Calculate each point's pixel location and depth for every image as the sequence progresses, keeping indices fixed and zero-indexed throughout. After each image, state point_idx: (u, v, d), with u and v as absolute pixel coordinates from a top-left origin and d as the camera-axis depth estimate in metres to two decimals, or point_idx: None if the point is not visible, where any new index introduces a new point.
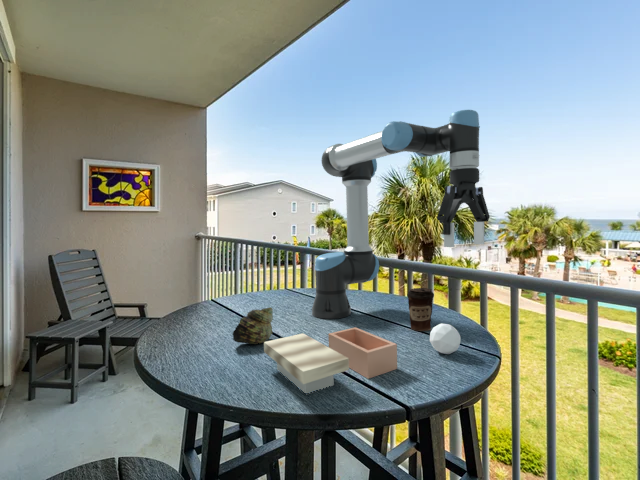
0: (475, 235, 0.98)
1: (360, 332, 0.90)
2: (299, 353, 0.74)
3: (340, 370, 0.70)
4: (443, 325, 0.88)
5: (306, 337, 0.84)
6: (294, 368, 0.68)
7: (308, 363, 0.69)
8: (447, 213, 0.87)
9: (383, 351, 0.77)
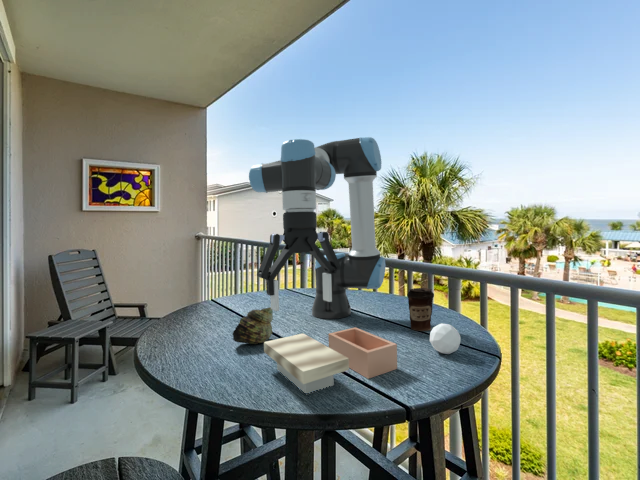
0: (323, 289, 0.80)
1: (360, 332, 0.90)
2: (299, 353, 0.74)
3: (340, 370, 0.70)
4: (443, 325, 0.88)
5: (306, 337, 0.84)
6: (294, 368, 0.68)
7: (308, 363, 0.69)
8: (266, 270, 0.70)
9: (383, 351, 0.77)
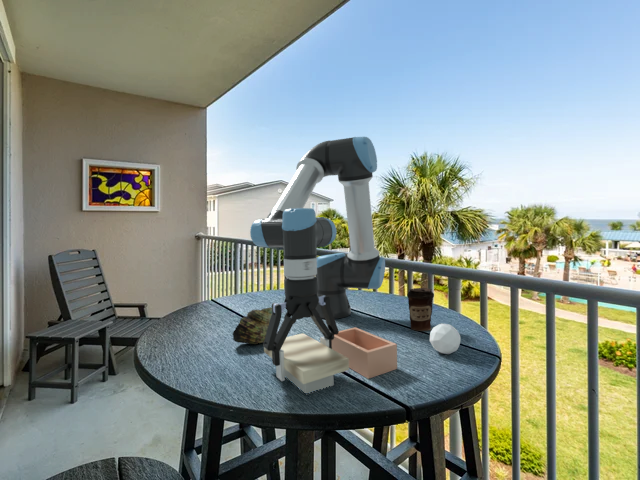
0: None
1: (360, 332, 0.90)
2: (299, 353, 0.74)
3: (340, 370, 0.70)
4: (443, 325, 0.88)
5: (306, 337, 0.84)
6: (294, 368, 0.68)
7: (308, 363, 0.69)
8: (271, 342, 0.71)
9: (383, 351, 0.77)
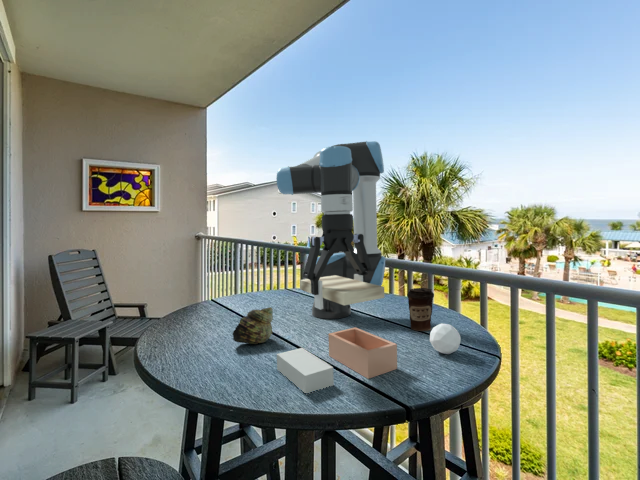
0: None
1: (360, 332, 0.90)
2: (335, 284, 0.79)
3: (377, 296, 0.74)
4: (443, 325, 0.88)
5: (339, 277, 0.89)
6: (334, 293, 0.72)
7: (347, 289, 0.73)
8: (311, 271, 0.75)
9: (383, 351, 0.77)
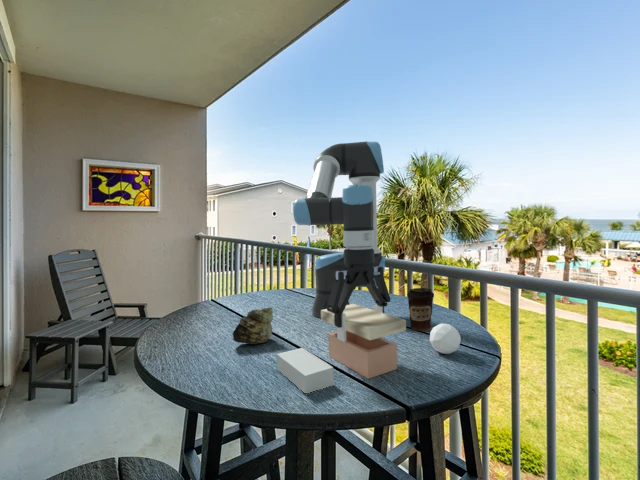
0: None
1: None
2: (358, 317, 0.81)
3: (399, 330, 0.77)
4: (443, 325, 0.88)
5: (358, 306, 0.92)
6: (359, 327, 0.75)
7: (371, 323, 0.76)
8: (335, 305, 0.78)
9: (383, 351, 0.77)
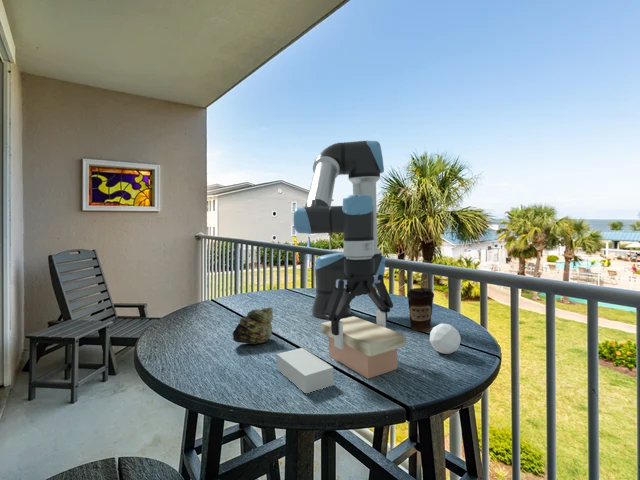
0: None
1: None
2: (358, 331, 0.82)
3: (399, 345, 0.77)
4: (443, 325, 0.88)
5: (358, 319, 0.92)
6: (359, 343, 0.75)
7: (371, 339, 0.76)
8: (333, 313, 0.78)
9: None
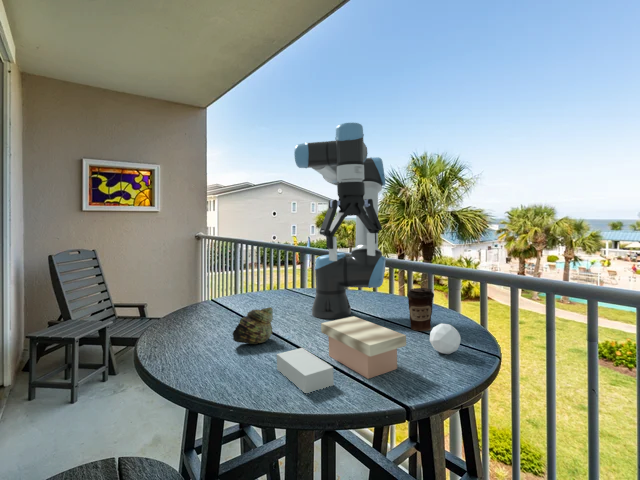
0: (368, 246, 0.98)
1: None
2: (358, 331, 0.82)
3: (399, 345, 0.77)
4: (443, 325, 0.88)
5: (358, 319, 0.92)
6: (359, 343, 0.75)
7: (371, 339, 0.76)
8: (327, 228, 0.88)
9: None
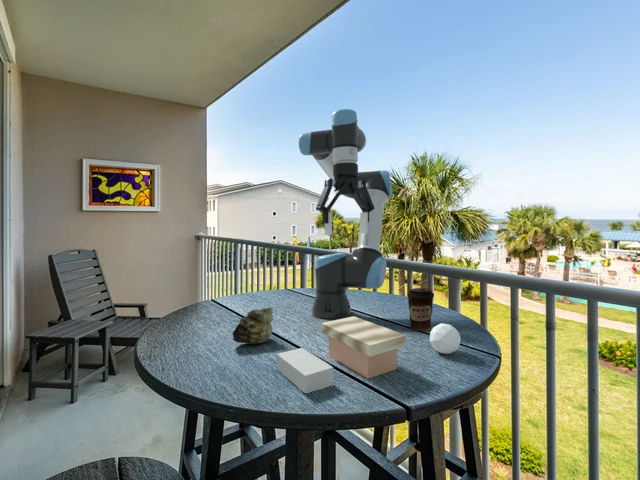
0: (361, 225, 1.06)
1: None
2: (358, 331, 0.82)
3: (399, 345, 0.77)
4: (443, 325, 0.88)
5: (358, 319, 0.92)
6: (359, 343, 0.75)
7: (371, 339, 0.76)
8: (323, 204, 0.96)
9: None
